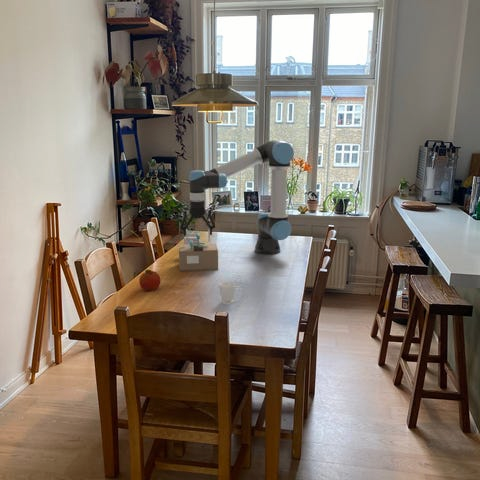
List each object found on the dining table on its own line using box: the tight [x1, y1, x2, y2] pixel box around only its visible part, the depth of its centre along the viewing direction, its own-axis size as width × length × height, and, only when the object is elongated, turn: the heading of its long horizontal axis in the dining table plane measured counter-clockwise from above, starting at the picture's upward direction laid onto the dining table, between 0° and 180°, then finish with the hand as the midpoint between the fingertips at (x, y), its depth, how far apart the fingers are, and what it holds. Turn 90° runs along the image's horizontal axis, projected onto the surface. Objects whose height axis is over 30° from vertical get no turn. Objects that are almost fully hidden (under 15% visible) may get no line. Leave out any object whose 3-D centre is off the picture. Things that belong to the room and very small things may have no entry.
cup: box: [218, 281, 244, 305], centre depth 197 cm, size 7×10×8 cm
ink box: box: [183, 230, 201, 245], centre depth 265 cm, size 9×5×15 cm, turn 84°
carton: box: [178, 244, 219, 272], centre depth 246 cm, size 20×14×10 cm
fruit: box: [138, 269, 161, 292], centre depth 212 cm, size 10×10×10 cm
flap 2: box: [196, 232, 219, 252], centre depth 245 cm, size 11×14×7 cm
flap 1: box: [178, 240, 194, 253], centre depth 244 cm, size 8×14×5 cm, turn 7°
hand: (198, 241), depth 248 cm, fingers open, 11 cm apart
